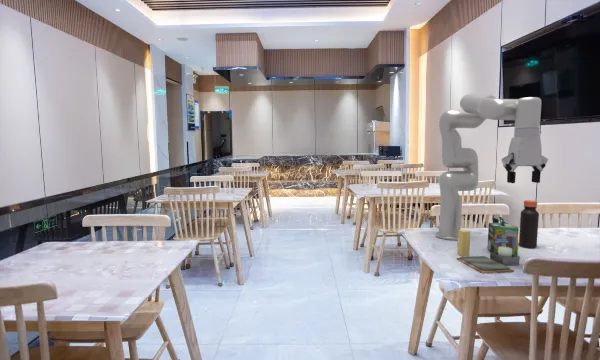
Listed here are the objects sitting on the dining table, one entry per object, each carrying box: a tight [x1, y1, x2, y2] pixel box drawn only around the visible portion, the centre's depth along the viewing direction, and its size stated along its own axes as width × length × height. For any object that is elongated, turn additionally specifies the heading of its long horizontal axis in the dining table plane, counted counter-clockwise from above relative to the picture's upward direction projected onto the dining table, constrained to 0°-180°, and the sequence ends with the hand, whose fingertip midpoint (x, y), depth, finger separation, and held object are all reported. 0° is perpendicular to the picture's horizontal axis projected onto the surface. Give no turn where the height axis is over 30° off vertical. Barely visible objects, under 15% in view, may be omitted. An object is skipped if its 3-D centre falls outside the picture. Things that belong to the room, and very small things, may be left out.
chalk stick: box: [457, 229, 471, 257], centre depth 151 cm, size 3×3×10 cm
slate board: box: [456, 255, 515, 275], centre depth 139 cm, size 16×12×1 cm
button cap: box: [498, 246, 512, 257], centre depth 142 cm, size 5×5×4 cm
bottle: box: [518, 199, 540, 249], centre depth 163 cm, size 7×7×20 cm
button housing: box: [489, 251, 521, 267], centre depth 142 cm, size 7×7×3 cm
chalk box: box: [487, 215, 520, 256], centre depth 155 cm, size 9×9×15 cm
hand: (523, 182), depth 132 cm, fingers open, 9 cm apart
